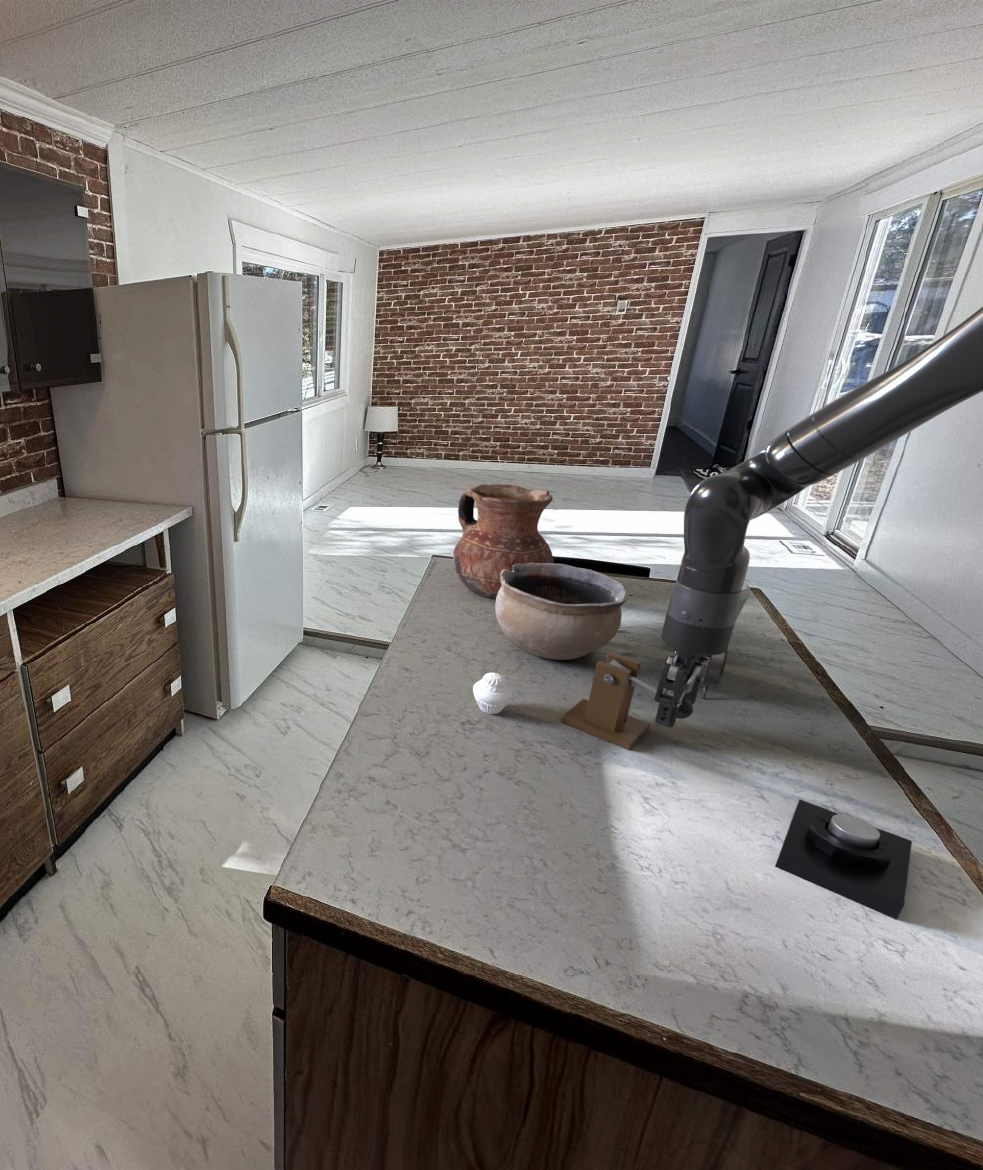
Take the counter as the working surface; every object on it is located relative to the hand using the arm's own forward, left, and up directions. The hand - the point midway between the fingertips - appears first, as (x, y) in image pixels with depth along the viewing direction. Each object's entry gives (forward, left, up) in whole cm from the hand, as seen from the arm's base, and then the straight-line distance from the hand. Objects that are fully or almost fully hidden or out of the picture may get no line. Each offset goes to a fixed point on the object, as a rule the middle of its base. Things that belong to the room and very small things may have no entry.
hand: (674, 713), depth 92 cm
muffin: (+24, -4, -7) cm, 26 cm away
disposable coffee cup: (-15, -38, -7) cm, 41 cm away
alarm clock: (-10, -22, -7) cm, 25 cm away
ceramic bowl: (+12, -30, -7) cm, 33 cm away
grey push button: (-13, +18, -3) cm, 23 cm away
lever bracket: (+7, -4, -7) cm, 11 cm away
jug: (+20, -60, -7) cm, 64 cm away
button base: (-13, +18, -7) cm, 23 cm away
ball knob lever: (+4, -2, +1) cm, 4 cm away
